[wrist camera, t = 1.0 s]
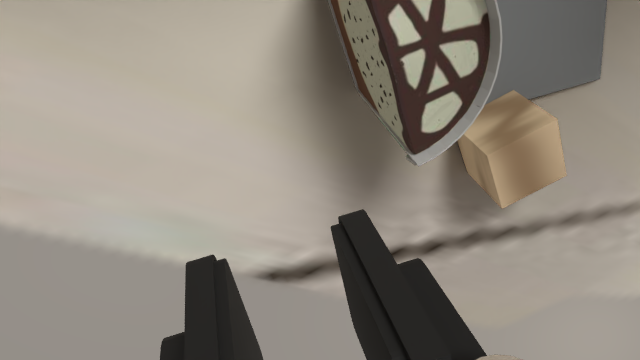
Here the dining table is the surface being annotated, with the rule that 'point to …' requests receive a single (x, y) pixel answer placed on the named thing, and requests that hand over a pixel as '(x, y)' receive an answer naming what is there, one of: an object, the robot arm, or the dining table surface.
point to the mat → (549, 45)
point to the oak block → (513, 149)
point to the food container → (422, 65)
